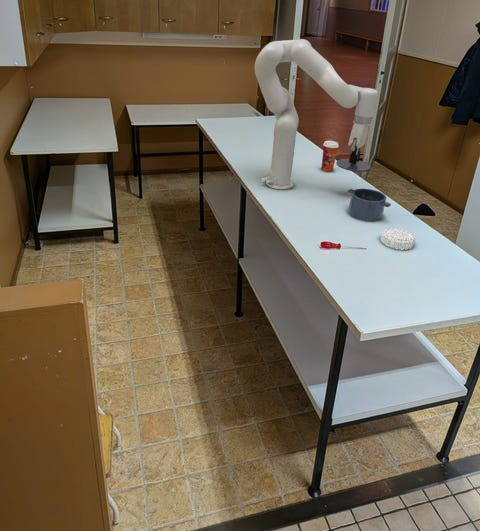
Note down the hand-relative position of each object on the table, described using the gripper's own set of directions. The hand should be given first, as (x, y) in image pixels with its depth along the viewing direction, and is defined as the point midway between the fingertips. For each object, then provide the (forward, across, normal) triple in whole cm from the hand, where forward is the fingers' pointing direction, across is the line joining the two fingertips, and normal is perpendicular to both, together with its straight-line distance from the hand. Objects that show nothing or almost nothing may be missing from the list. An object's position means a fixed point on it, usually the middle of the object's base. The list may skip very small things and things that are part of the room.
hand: (353, 161), depth 216 cm
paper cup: (+15, -23, -19) cm, 33 cm away
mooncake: (+15, +34, +32) cm, 49 cm away
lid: (+2, 0, 0) cm, 2 cm away
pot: (+15, +17, +14) cm, 26 cm away
